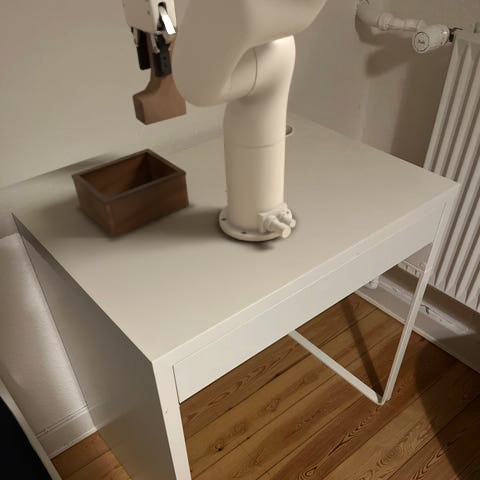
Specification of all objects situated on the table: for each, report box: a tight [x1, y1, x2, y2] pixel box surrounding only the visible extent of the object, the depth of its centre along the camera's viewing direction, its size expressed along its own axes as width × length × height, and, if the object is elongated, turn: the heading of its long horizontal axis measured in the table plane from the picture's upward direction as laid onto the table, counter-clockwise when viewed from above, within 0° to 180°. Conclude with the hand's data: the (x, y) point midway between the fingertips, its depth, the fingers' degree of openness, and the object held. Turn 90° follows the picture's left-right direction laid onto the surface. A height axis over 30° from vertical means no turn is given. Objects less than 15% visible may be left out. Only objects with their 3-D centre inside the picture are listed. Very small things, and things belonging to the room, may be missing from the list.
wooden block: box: [132, 8, 187, 126], centre depth 91 cm, size 9×4×18 cm, turn 124°
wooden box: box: [70, 148, 190, 238], centre depth 91 cm, size 13×16×7 cm
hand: (155, 70), depth 92 cm, fingers closed on wooden block, 4 cm apart
